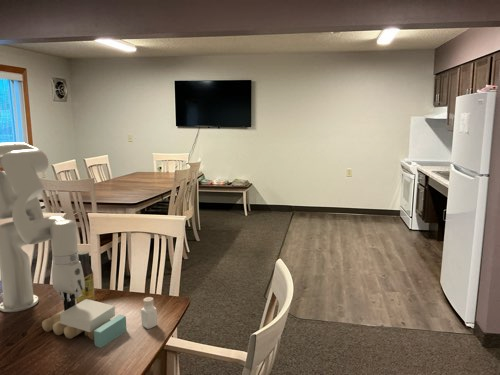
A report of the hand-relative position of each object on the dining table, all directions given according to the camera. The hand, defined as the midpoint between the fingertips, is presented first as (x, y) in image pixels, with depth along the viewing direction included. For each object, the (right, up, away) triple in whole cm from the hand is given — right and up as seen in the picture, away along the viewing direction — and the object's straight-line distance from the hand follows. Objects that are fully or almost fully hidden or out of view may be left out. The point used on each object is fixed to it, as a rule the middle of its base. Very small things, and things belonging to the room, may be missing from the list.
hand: (70, 310), depth 131 cm
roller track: (+4, -6, -1) cm, 7 cm away
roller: (+11, -6, -4) cm, 13 cm away
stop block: (+16, -7, -6) cm, 18 cm away
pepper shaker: (+26, -6, +1) cm, 27 cm away
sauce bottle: (-2, -3, +17) cm, 17 cm away
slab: (+7, -2, -3) cm, 8 cm away
